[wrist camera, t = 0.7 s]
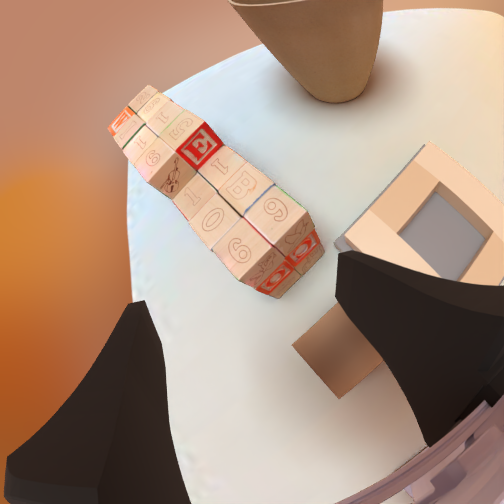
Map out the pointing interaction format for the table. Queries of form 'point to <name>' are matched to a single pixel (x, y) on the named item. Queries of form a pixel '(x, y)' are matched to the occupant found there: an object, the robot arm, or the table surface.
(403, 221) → the puzzle board
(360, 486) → the table surface
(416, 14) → the table surface
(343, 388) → the walnut block
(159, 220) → the table surface
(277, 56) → the plant pot
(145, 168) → the stack of blocks
